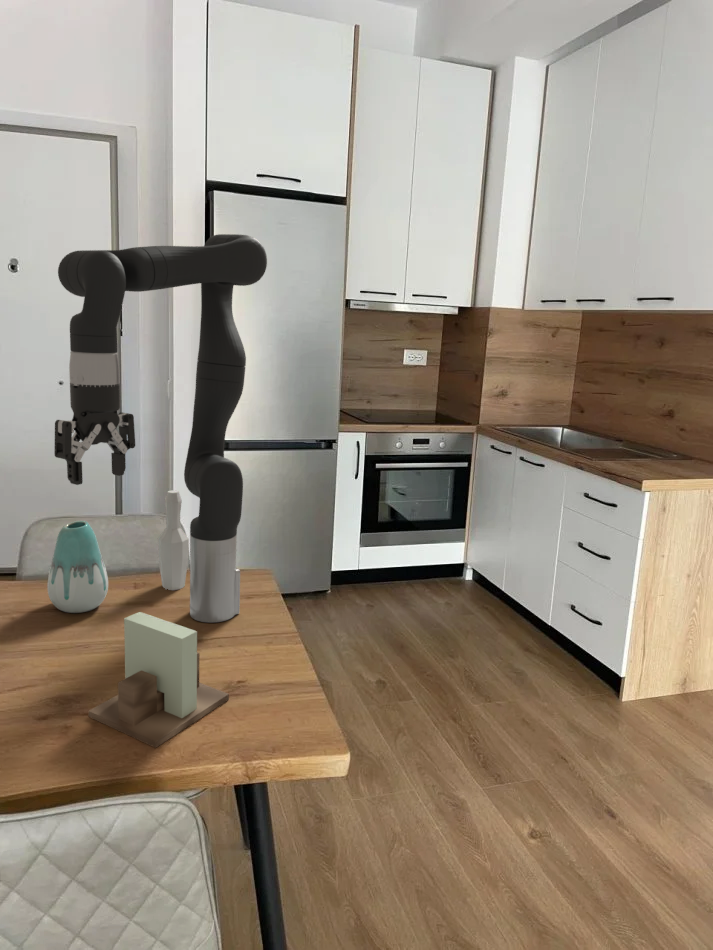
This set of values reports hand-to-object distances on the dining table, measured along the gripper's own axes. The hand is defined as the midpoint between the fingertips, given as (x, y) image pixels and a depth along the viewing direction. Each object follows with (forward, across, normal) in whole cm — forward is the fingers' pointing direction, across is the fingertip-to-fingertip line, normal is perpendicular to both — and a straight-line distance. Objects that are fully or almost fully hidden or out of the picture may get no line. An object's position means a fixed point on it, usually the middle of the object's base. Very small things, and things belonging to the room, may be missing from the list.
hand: (97, 479), depth 118 cm
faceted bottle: (+33, -33, -16) cm, 50 cm away
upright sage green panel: (+32, +4, +18) cm, 37 cm away
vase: (+33, -14, -23) cm, 43 cm away
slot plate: (+33, +5, +18) cm, 38 cm away
